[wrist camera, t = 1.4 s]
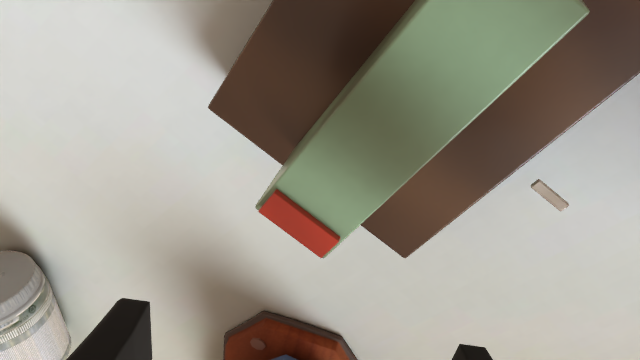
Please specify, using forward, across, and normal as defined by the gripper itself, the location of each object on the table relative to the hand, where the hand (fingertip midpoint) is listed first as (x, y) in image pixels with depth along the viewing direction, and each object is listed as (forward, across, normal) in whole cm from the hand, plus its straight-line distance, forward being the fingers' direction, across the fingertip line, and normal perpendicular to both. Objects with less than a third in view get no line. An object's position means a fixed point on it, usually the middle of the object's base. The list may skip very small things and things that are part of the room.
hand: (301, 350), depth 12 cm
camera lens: (+13, +18, +14) cm, 26 cm away
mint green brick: (+8, -2, -4) cm, 9 cm away
